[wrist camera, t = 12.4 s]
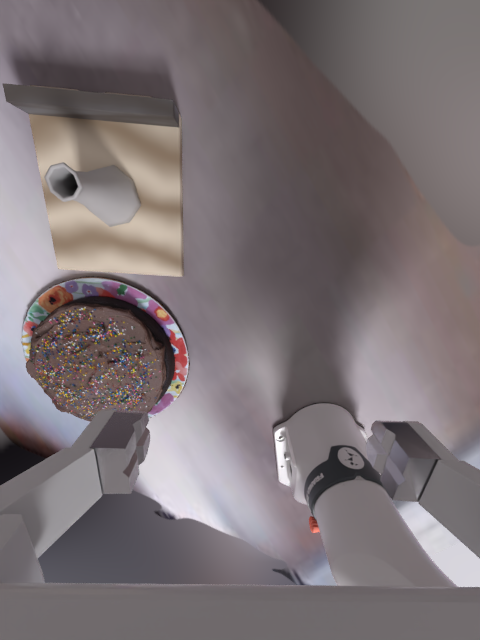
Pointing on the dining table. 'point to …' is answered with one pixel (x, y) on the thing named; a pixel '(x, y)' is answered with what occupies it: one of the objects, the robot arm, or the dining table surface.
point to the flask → (96, 191)
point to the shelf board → (105, 150)
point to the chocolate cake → (104, 348)
